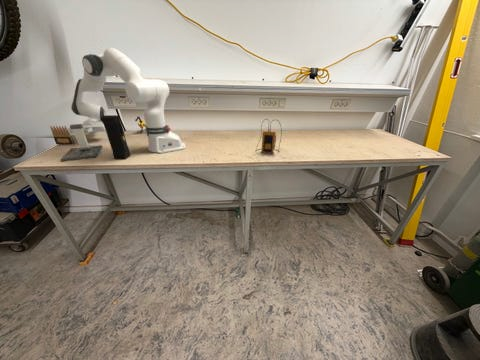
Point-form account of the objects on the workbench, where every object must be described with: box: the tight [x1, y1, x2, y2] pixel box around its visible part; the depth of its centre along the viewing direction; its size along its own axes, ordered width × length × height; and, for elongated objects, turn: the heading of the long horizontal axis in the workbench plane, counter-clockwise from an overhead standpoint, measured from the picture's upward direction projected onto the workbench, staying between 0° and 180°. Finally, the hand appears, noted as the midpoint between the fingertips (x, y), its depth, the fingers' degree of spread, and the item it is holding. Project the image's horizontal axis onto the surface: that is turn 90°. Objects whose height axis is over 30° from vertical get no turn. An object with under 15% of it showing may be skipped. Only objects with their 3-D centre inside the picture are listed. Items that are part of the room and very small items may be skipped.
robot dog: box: [134, 115, 146, 134], centre depth 151 cm, size 6×18×13 cm, turn 176°
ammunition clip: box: [49, 125, 75, 146], centre depth 126 cm, size 11×2×12 cm, turn 91°
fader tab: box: [69, 123, 92, 150], centre depth 114 cm, size 5×4×14 cm
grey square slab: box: [59, 144, 104, 163], centre depth 114 cm, size 16×18×2 cm
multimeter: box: [255, 118, 283, 154], centre depth 118 cm, size 15×10×20 cm
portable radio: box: [101, 111, 131, 160], centre depth 105 cm, size 8×6×25 cm
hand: (85, 131), depth 123 cm, fingers closed
